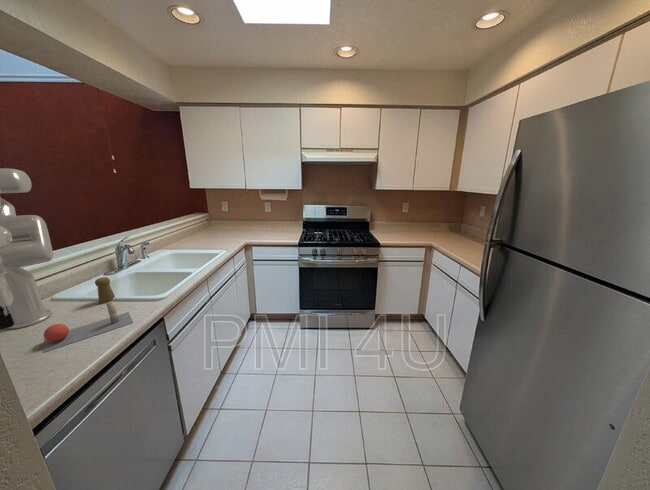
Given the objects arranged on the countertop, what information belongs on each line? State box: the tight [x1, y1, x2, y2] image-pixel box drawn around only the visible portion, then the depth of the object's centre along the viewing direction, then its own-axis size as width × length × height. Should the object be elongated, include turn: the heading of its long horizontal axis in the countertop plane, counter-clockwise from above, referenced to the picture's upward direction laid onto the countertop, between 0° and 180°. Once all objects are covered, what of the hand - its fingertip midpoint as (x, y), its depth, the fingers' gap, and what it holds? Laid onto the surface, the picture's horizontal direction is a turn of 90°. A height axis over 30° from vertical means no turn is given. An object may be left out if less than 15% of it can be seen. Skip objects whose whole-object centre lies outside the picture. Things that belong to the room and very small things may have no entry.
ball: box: [43, 323, 70, 342], centre depth 88 cm, size 6×6×6 cm
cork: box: [94, 276, 116, 305], centre depth 115 cm, size 6×6×11 cm
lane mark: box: [43, 311, 134, 353], centre depth 95 cm, size 24×11×1 cm, turn 135°
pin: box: [105, 300, 119, 324], centre depth 98 cm, size 2×2×8 cm
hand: (6, 326), depth 79 cm, fingers closed
